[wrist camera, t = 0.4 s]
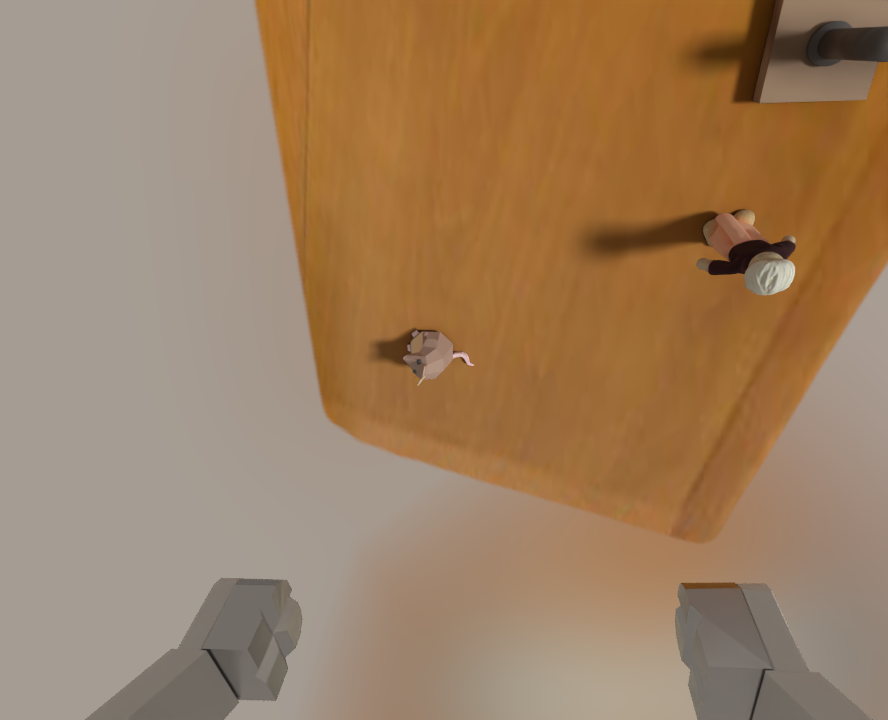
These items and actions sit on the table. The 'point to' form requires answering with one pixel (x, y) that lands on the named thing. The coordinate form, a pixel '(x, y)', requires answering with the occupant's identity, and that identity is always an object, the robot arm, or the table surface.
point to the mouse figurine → (431, 354)
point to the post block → (822, 50)
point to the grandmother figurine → (748, 253)
